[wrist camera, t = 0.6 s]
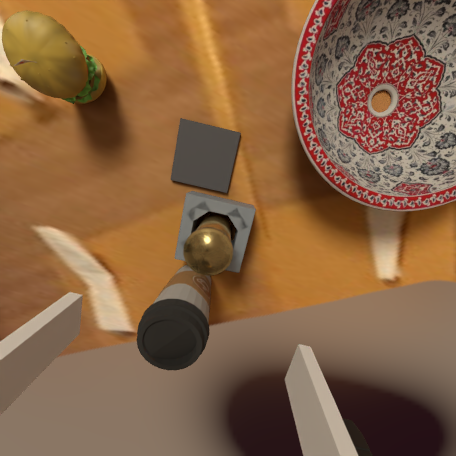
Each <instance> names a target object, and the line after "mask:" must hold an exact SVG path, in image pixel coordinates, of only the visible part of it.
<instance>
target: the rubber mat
mask: <svg viewBox="0 0 456 456" xmlns="http://www.w3.org/2000/svg"><path fill="white" fill-rule="evenodd" d="M240 134H241V133H239V132H235V131H231V130H227V129H223V128H219V127H215V126H210V125H206V124H202V123H198V122H194V121H190V120H186V119H182V118H181V119H180V125H179V131H178V137H177V144H176V150H175V156H174V162H173V168H172V175H171V180H173V181H178V182H182V183H186V184H191V185H195V186H199V187H203V188H208V189H212V190H216V191H221V192H225V193H227V191H228V187H229V182H230V178H231V173H232V169H233V165H234V160H235V156H236V151H237V147H238V142H239V138H240Z"/></svg>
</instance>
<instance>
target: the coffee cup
mask: <svg viewBox="0 0 456 456" xmlns="http://www.w3.org/2000/svg"><path fill="white" fill-rule="evenodd" d="M210 300H211V278H210V276H206V275H201V274H199V273H196V272H195V271H193V270H192V269H191V268H190V267H189V266H188V265H185V266H183V267H182V268H180V269H179V270H178V271H177V273H176V274H175V275H174V276H173V277H172V278H171V280H170V281H169V282H168V284H167V285H166V286H165V287H164V289H163V290H162V291H161V293H160V294H159V296H158V298H157V299H156V300H155V302H154V303H153V304H152V305H151V306H150V307H149V308H148V309H147V310H146V311H145V312H144V314H143V316H142V319H141V321H140V323H139V326H138V331H137V334H138V336H137V345H138V349H139V351H140V353H141V355H142V356H143V357H144V358H145V359H146V360H147V361H148V362H150V363H151V364H152V365H154V366H156V367H158V368H161V369H166V370H179V369H184V368H186V367H188V366H190V365H191V364H193V363H194V362H195V361H196V360H197V359H198V357H199V356H200V355H201V353H202V352H203V350H204V349H205V346H206V342H207V340H208V336H209V324H208V321H209V312H210Z"/></svg>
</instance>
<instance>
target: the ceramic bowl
mask: <svg viewBox="0 0 456 456" xmlns="http://www.w3.org/2000/svg"><path fill="white" fill-rule="evenodd" d="M291 88H292V108H293V116H294V121H295V126H296V130H297V133H298V136H299V139H300V142H301V144H302V146H303V149H304V151H305V153H306V155H307V157H308V158H309V160H310V162H311V163H312V165H313V166H314V168H315V169H316V171H317V172H318V173H319V174H320V175H321V176H322V178H323V179H324V180H325V181H326V182H327V183H328V184H330V185H331V186H332V187H333V188H334V189H335V190H337V191H338V192H340V193H341V194H342V195H344V196H346V197H348V198H349V199H351V200H353V201H355V202H358V203H360V204H362V205H366V206H369V207H372V208H376V209H381V210H388V211H415V210H423V209H428V208H433V207H437V206H441V205H444V204H447V203H450V202H452V201H455V200H456V0H316V1H315V3H314V5H313V7H312V9H311V10H310V12H309V15H308V17H307V20H306V22H305V24H304V27H303V30H302V33H301V36H300V39H299V42H298V46H297V50H296V54H295V59H294V66H293V72H292V87H291ZM380 90H385V91H388V92H389V93H390V95H391V104H390V106H389V108H388V109H387V110H386V111H384V112H381V113H378V112H376V111H374V110H373V108H372V106H371V100H372V97H373V95H374V94H375V93H376V92H377V91H380Z"/></svg>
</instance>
